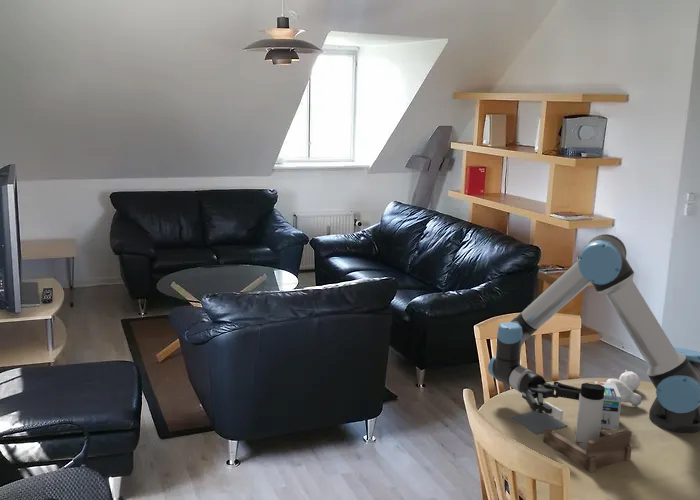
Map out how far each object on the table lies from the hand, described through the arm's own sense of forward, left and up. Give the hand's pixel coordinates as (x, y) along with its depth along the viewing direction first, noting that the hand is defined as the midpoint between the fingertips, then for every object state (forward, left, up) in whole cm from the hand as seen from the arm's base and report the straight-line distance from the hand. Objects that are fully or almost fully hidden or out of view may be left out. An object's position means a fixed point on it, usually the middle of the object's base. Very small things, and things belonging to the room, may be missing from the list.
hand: (579, 410), depth 196 cm
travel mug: (-3, +2, -11) cm, 12 cm away
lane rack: (-2, +2, -11) cm, 11 cm away
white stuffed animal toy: (-15, -33, -11) cm, 38 cm away
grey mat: (+11, -12, -11) cm, 19 cm away
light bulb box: (-9, -19, -11) cm, 24 cm away
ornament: (-17, -46, -11) cm, 51 cm away
